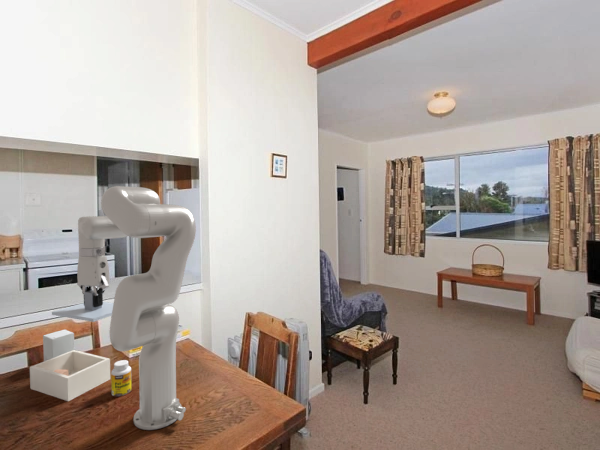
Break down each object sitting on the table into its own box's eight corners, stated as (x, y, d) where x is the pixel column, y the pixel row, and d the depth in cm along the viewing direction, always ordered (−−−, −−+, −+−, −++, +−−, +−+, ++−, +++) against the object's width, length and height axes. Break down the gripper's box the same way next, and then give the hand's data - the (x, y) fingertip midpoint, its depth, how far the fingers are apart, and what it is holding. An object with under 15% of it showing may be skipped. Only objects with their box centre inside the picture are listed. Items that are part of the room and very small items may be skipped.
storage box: (110, 381, 113) (110, 358, 112) (68, 404, 100) (67, 378, 99) (74, 371, 119) (73, 349, 119) (30, 391, 106) (29, 367, 106)
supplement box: (75, 366, 124) (74, 332, 123) (52, 374, 117) (51, 339, 117) (66, 361, 127) (65, 328, 127) (43, 369, 121) (42, 334, 121)
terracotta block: (68, 381, 111) (68, 369, 111) (59, 387, 107) (59, 375, 107) (56, 381, 111) (56, 369, 111) (47, 387, 107) (47, 375, 107)
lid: (132, 308, 119) (131, 289, 118) (93, 321, 105) (92, 299, 104) (93, 302, 125) (93, 284, 125) (51, 314, 111) (51, 294, 111)
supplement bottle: (112, 401, 101) (111, 368, 101) (110, 392, 106) (110, 361, 106) (132, 395, 104) (132, 363, 104) (130, 387, 109) (129, 357, 109)
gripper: (119, 252, 115) (120, 305, 116) (84, 250, 120) (86, 300, 121) (99, 255, 108) (101, 311, 109) (64, 252, 113) (65, 306, 114)
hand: (93, 305), depth 115 cm, fingers closed on lid, 3 cm apart
